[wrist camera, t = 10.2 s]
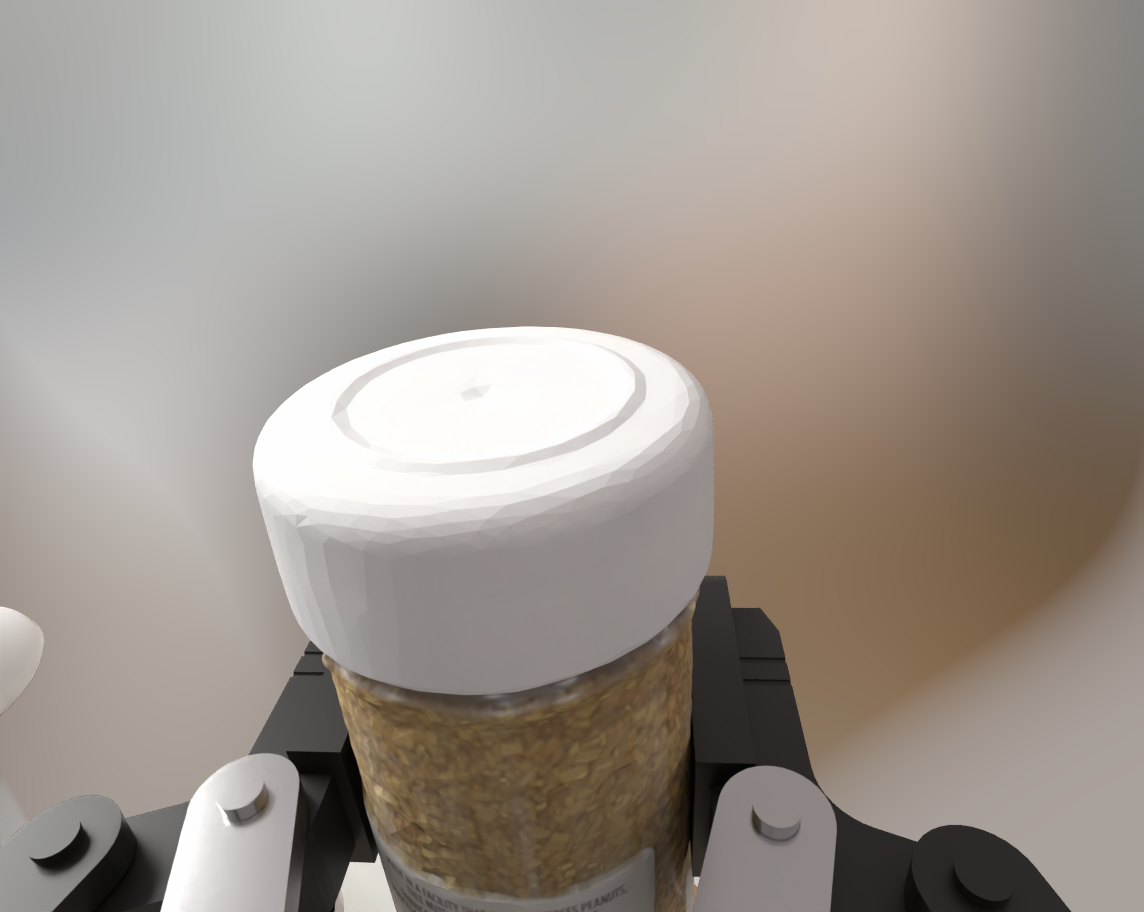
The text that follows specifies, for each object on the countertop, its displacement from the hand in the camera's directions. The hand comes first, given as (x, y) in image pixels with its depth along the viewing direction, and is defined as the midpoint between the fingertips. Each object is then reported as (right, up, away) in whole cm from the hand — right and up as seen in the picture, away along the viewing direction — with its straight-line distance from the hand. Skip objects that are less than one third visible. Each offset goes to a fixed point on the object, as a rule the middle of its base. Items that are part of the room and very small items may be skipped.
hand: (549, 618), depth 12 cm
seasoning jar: (0, -9, +2) cm, 9 cm away
